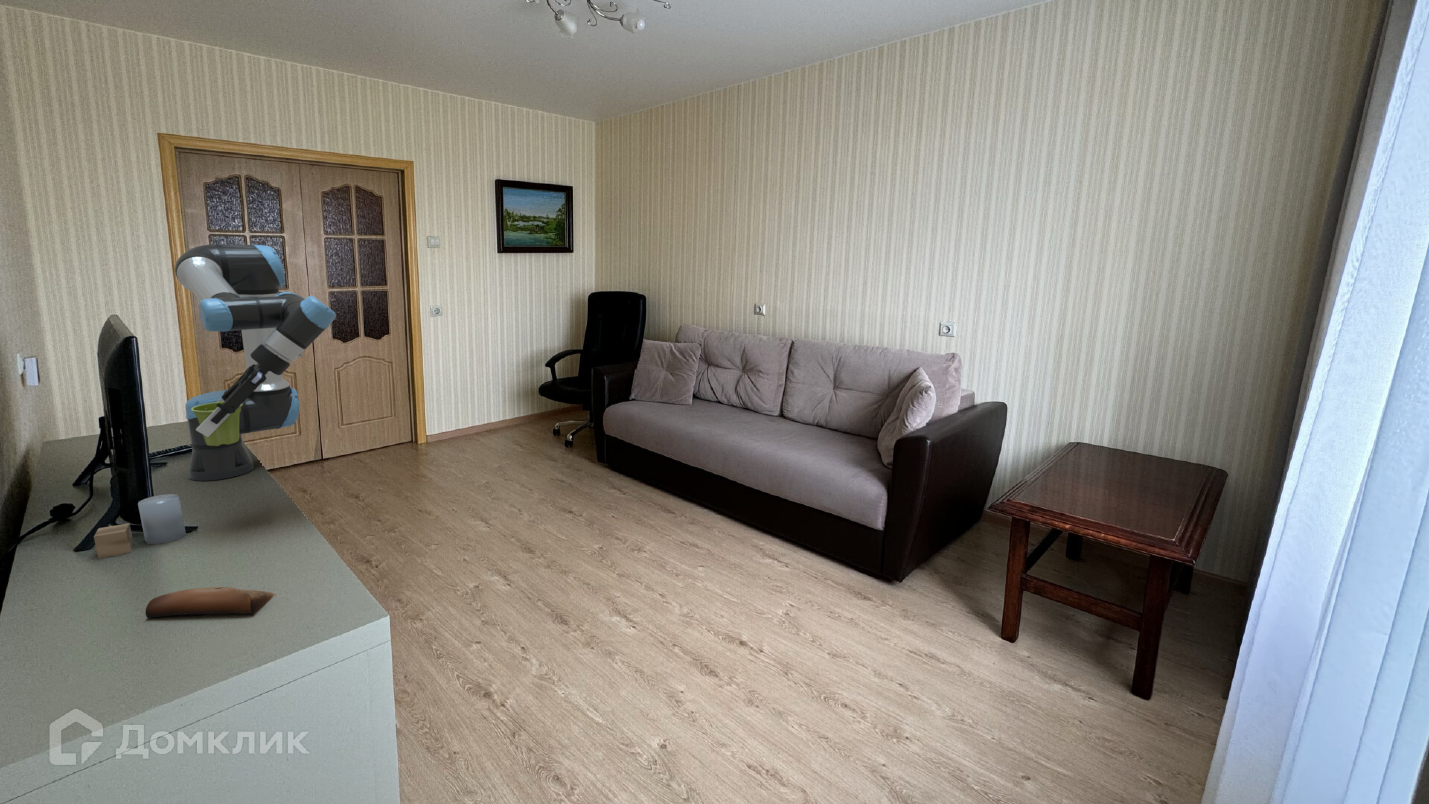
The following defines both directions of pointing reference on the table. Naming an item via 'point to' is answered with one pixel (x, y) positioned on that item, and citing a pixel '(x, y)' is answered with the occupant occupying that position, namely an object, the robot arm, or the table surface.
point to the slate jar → (161, 518)
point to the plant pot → (227, 428)
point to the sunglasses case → (208, 602)
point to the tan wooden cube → (113, 540)
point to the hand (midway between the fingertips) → (203, 428)
